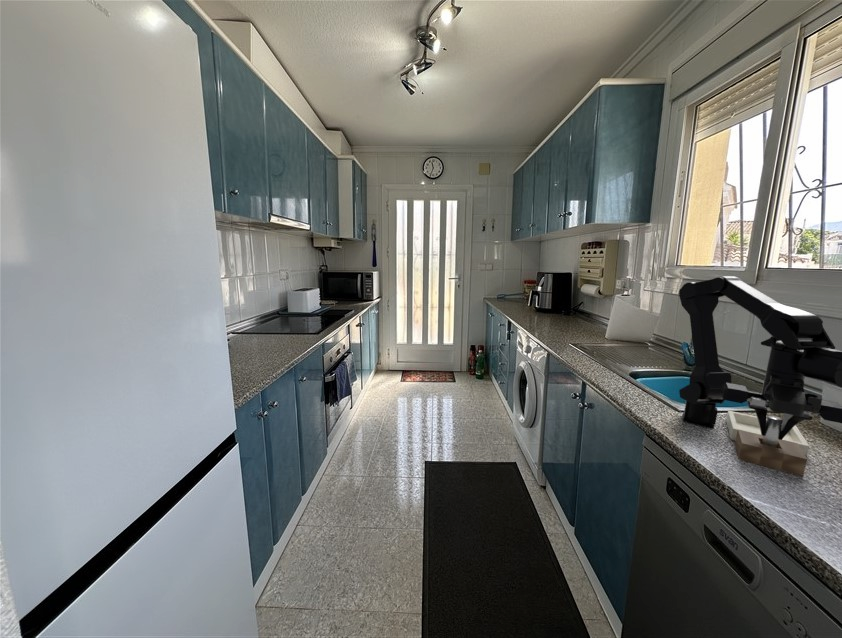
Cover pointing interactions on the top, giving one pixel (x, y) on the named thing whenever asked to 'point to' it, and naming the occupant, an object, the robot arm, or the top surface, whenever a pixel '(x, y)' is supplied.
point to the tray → (752, 425)
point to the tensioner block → (770, 453)
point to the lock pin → (772, 431)
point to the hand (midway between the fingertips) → (771, 436)
